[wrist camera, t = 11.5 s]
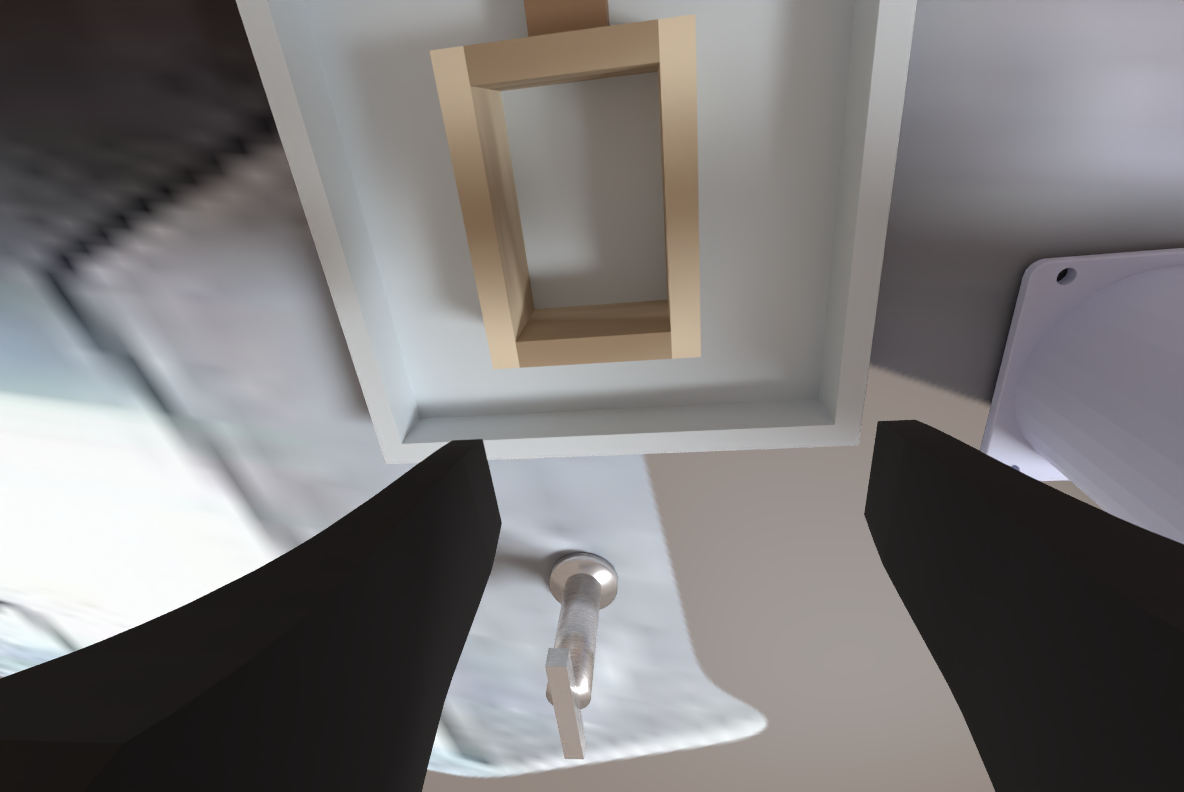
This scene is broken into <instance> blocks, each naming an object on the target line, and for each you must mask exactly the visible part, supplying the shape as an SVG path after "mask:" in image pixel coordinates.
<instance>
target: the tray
mask: <svg viewBox="0 0 1184 792" xmlns="http://www.w3.org/2000/svg"><path fill="white" fill-rule="evenodd" d="M236 3H237V6H238V9H239V12H240V15H241V18H242V22H243V25H244V28H245V31H246V34H247V37H248V40H249V43H250V46H251V49H252V52H253V55H254V59H255V62H256V65H257V68H258V71H259V74H260V77H261V80H262V83H263V86H264V89H265V92H266V96H267V99H268V102H269V105H270V108H271V111H272V114H273V117H274V120H275V123H276V126H277V129H278V133H279V136H280V139H281V142H282V145H283V148H284V151H285V154H286V157H287V160H288V163H289V166H290V169H291V173H292V176H293V179H294V182H295V185H296V188H297V191H298V194H299V197H300V200H301V203H302V206H303V210H304V213H305V216H306V219H307V222H308V225H309V228H310V231H311V234H312V237H313V240H314V243H315V247H316V250H317V253H318V256H319V259H320V262H321V265H322V268H323V271H324V274H325V277H326V280H327V284H328V287H329V290H330V293H331V296H332V299H333V302H334V305H335V308H336V311H337V314H338V317H339V321H340V324H341V327H342V330H343V333H344V336H345V339H346V342H347V345H348V348H349V351H350V354H351V358H352V361H353V364H354V367H355V370H356V373H357V376H358V379H359V382H360V385H361V388H362V391H363V395H364V398H365V401H366V404H367V407H368V410H369V413H370V416H371V419H372V422H373V425H374V428H375V431H376V435H377V438H378V441H379V444H380V447H381V450H382V453H383V456H384V459H385V462H386V464H399V463H420V462H421V461H423V460H424V459H425V458H427V457H428V456H429V455H431V454H432V453H434V452H435V451H437V450H438V449H439V448H441V447H442V446H444V445H446V444H447V443H449V442H451V441H452V440H471V439H483V443H484V447H485V452H486V456H487V460H501V459H526V458H552V457H577V456H603V455H628V454H652V453H676V452H677V453H679V452H703V451H730V450H752V449H753V450H755V449H781V448H805V447H831V446H854V445H855V446H857V445H859V439H860V432H861V424H862V416H863V409H864V401H865V394H866V386H867V378H868V371H869V363H870V355H871V348H872V340H873V333H874V325H875V317H876V310H877V302H878V295H879V287H880V279H881V272H882V264H883V256H884V249H885V241H886V234H887V226H888V218H889V211H890V203H891V196H892V188H893V180H894V173H895V165H896V157H897V150H898V142H899V135H900V127H901V119H902V112H903V104H904V97H905V89H906V81H907V74H908V66H909V58H910V51H911V43H912V36H913V28H914V20H915V13H916V5H917V0H608V7H609V21H610V26H612V25H619V24H627V23H634V22H641V21H648V20H656V19H663V18H670V17H678V16H685V15H692V14H696V74H697V137H698V201H699V265H700V328H701V357H692V358H676V359H659V360H642V361H625V362H608V363H592V364H575V365H558V366H541V367H524V368H507V369H493V365H492V360H491V355H490V350H489V345H488V340H487V335H486V330H485V325H484V320H483V315H482V310H481V305H480V300H479V295H478V290H477V285H476V280H475V275H474V270H473V265H472V260H471V255H470V250H469V245H468V240H467V235H466V230H465V225H464V220H463V215H462V210H461V205H460V200H459V195H458V190H457V185H456V180H455V175H454V170H453V165H452V160H451V155H450V150H449V145H448V140H447V135H446V130H445V125H444V121H443V116H442V111H441V106H440V101H439V96H438V91H437V86H436V81H435V76H434V71H433V66H432V61H431V56H430V50H437V49H444V48H452V47H459V46H466V45H473V44H481V43H488V42H495V41H503V40H510V39H517V38H524V37H528V30H527V22H526V15H525V7H524V0H236ZM501 97H502V103H503V110H504V116H505V122H506V129H507V135H508V142H509V148H510V155H511V161H512V167H513V174H514V180H515V187H516V193H517V200H518V206H519V213H520V219H521V225H522V232H523V238H524V245H525V251H526V258H527V264H528V270H529V277H530V283H531V290H532V296H533V303H534V309H545V308H559V307H572V306H586V305H600V304H614V303H627V302H641V301H655V300H667V278H666V255H665V231H664V208H663V185H662V161H661V138H660V115H659V92H658V72H651V73H643V74H635V75H627V76H619V77H611V78H603V79H595V80H587V81H579V82H571V83H563V84H555V85H547V86H539V87H531V88H523V89H515V90H507V91H501Z"/></svg>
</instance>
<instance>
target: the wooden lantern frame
mask: <svg viewBox="0 0 1184 792" xmlns="http://www.w3.org/2000/svg"><path fill="white" fill-rule="evenodd" d="M524 7H525V15H526V22H527V30H528V37H524V38H517V39H510V40H503V41H495V42H488V43H481V44H473V45H466V46H459V47H452V48H444V49H437V50H430V56H431V61H432V66H433V71H434V76H435V81H436V86H437V91H438V96H439V101H440V106H441V111H442V116H443V121H444V125H445V130H446V135H447V140H448V145H449V150H450V155H451V160H452V165H453V170H454V175H455V180H456V185H457V190H458V195H459V200H460V205H461V210H462V215H463V220H464V225H465V230H466V235H467V240H468V245H469V250H470V255H471V260H472V265H473V270H474V275H475V280H476V285H477V290H478V295H479V300H480V305H481V310H482V315H483V320H484V325H485V330H486V335H487V340H488V345H489V350H490V355H491V360H492V365H493V369H507V368H524V367H541V366H558V365H575V364H592V363H608V362H625V361H642V360H659V359H676V358H692V357H701V328H700V265H699V201H698V137H697V74H696V14H692V15H685V16H678V17H670V18H663V19H656V20H648V21H641V22H634V23H627V24H619V25H612V26H610V21H609V7H608V0H524ZM651 72H658V92H659V115H660V138H661V161H662V185H663V208H664V231H665V255H666V278H667V300H655V301H641V302H627V303H614V304H600V305H586V306H572V307H559V308H545V309H534V303H533V296H532V290H531V283H530V277H529V270H528V264H527V258H526V251H525V245H524V238H523V232H522V225H521V219H520V213H519V206H518V200H517V193H516V187H515V180H514V174H513V167H512V161H511V155H510V148H509V142H508V135H507V129H506V122H505V116H504V110H503V103H502V97H501V91H507V90H515V89H523V88H531V87H539V86H547V85H555V84H563V83H571V82H579V81H587V80H595V79H603V78H611V77H619V76H627V75H635V74H643V73H651Z"/></svg>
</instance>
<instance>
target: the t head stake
mask: <svg viewBox="0 0 1184 792" xmlns="http://www.w3.org/2000/svg"><path fill="white" fill-rule="evenodd" d="M549 587H550V591H551V593H552V595H553V596H554V598H555V599H556V600H557V601H558V602H559V603H561V604H562V605H561V610H560V616H559V622H558V627H557V633H556V639H555V644H554V648H549V650H548V655H547V660H546V666H545V667H546V672H547V677H548V684H547V690H546V697H547V699H548V701H549V702H550V703H551V704H552V705H554V710H555V715H556V719H557V724H558V729H559V734H560V738H561V743H562V748H563V752H564V757H565V759H584V752H585V742H586V739H585V733H584V728H583V722H582V716H581V711H580V709H583V708H585V707H586V706H587V705H588V704H589V703H590V700H591V690H592V680H593V669H594V659H595V649H596V639H597V628H598V618H599V610H600V609H603V608H605V607H606V606H608V605H609V604H610V603H611V602H612V601H613V600H614V599H615V597H616V594H617V588H618V577H617V573H616V571H615V569H614V568H613V566H612V565H611V564H610V563H609V562H607V561H606V560H605V559H603V558H601V557H599V556H596V555H593V554H589V553H574V554H570V555H567V556H564V557H563V558H561V559H560V560H558V561H557V562H556V563H555V565H554V566H553V568H552V571H551V576H550V581H549Z"/></svg>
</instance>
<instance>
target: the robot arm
mask: <svg viewBox="0 0 1184 792" xmlns="http://www.w3.org/2000/svg"><path fill="white" fill-rule="evenodd" d="M1066 268H1067V269H1068V273H1067V274H1066V276H1065V277H1064V278H1063V279H1062V280H1060V281H1057V276H1058V274H1059V273H1060V272H1061V271H1062V270H1063V269H1066ZM1011 465H1013V466H1012V467H1010V466H1011ZM1057 480H1070V481H1071V482H1072V483H1074V484H1075V485H1076V486H1077V487H1078V488H1079V489H1081V490H1082V491H1083V492H1084V493H1085V494H1086V495H1088V496H1089V497H1090V498H1091V499H1092V500H1093V501H1094V502H1096V503H1097V504H1098V505H1099V506H1100V507H1101V508H1103V509H1104V510H1105V511H1106V512H1105V511H1102V510H1100V509H1098V508H1096V507H1093V506H1091V505H1089V504H1087V503H1085V502H1082V501H1080V500H1078V499H1076V498H1074V497H1071V496H1069V495H1067V494H1065V493H1063V492H1061V491H1059V490H1057V489H1055V488H1053V487H1051V486H1048V485H1046V484H1044V483H1042V482H1040V481H1057ZM864 515H865V518H866V520H867V523H868V526H869V529H870V532H871V535H872V537H873V540H874V543H875V545H876V548H877V550H878V553H879V555H880V558H881V561H882V563H883V565H884V567H885V569H886V571H887V573H888V575H889V577H890V579H891V581H892V583H893V584H894V586H895V588H896V590H897V592H898V594H899V596H900V597H901V599H902V601H903V603H904V605H905V607H906V609H907V610H908V612H909V614H910V616H911V618H912V620H913V621H914V623H915V625H916V627H917V628H918V630H919V632H920V634H921V636H922V638H923V640H924V641H925V643H926V645H927V647H928V649H929V650H930V652H931V654H932V656H933V658H934V660H935V662H936V663H937V665H938V667H939V669H940V670H941V672H942V674H943V676H944V678H945V680H946V682H947V683H948V685H949V687H950V689H951V691H952V694H953V695H954V698H955V700H956V702H957V704H958V705H959V708H960V710H961V712H962V714H963V716H964V718H965V721H966V723H967V725H968V728H969V730H970V732H971V735H972V737H973V740H974V742H975V744H976V746H977V749H978V751H979V754H980V756H981V758H982V761H983V763H984V765H985V768H986V770H987V772H988V775H989V777H990V779H991V782H992V784H993V787H994V789H995V792H1184V248H1175V249H1162V250H1149V251H1136V252H1123V253H1110V254H1097V255H1084V256H1071V257H1058V258H1045V259H1041V260H1038V261H1036V262H1034V263H1033V264H1031V265H1030V266H1029V267H1028V268H1027V269H1026V271H1025V273H1024V275H1023V278H1022V282H1021V286H1020V290H1019V294H1018V298H1017V302H1016V306H1015V311H1014V315H1013V319H1012V323H1011V327H1010V331H1009V335H1008V339H1007V343H1006V347H1005V351H1004V355H1003V359H1002V363H1001V367H1000V371H999V375H998V379H997V383H996V387H995V391H994V395H993V399H992V403H991V407H990V412H989V415H988V419H987V424H986V428H985V432H984V436H983V440H982V444H981V448H980V451H979V450H977V449H975V448H973V447H971V446H969V445H967V444H965V443H963V442H961V441H960V440H957V439H956V438H954V437H952V436H950V435H947V434H945V433H944V432H942V431H940V430H937V429H935V428H933V427H931V426H929V425H927V424H924V423H922V422H919V421H917V420H899V421H878V424H877V431H876V438H875V445H874V452H873V458H872V465H871V472H870V479H869V486H868V493H867V500H866V506H865V513H864ZM501 524H502V523H501V518H500V514H499V509H498V505H497V500H496V496H495V491H494V487H493V483H492V478H491V474H490V469H489V465H488V460H487V456H486V452H485V447H484V443H483V439H471V440H452V441H451V442H449V443H447V444H446V445H444V446H442V447H441V448H439V449H438V450H437V451H435V452H434V453H432V454H431V455H429V456H428V457H427V458H425V459H424V460H423V461H421V462H420V463H419V464H417V465H416V466H414V467H413V468H412V469H410V470H409V471H408V472H406V473H405V474H404V475H402V476H401V477H400V478H398V479H397V480H395V481H394V482H393V483H391V484H390V485H389V486H387V487H386V488H385V489H383V490H382V491H381V492H379V493H378V494H376V495H375V496H374V497H372V498H371V499H369V500H368V501H366V502H365V503H363V504H362V505H360V506H359V507H358V508H356V509H355V510H353V511H352V512H350V513H349V514H347V515H346V516H344V517H343V518H341V519H340V520H338V521H337V522H335V523H334V524H332V525H331V526H329V527H328V528H327V529H325V530H323V531H322V532H320V533H319V534H317V535H316V536H314V537H312V538H311V539H309V540H307V541H306V542H304V543H302V544H301V545H299V546H297V547H296V548H294V549H292V550H291V551H289V552H287V553H285V554H283V555H282V556H280V557H278V558H276V559H275V560H273V561H271V562H269V563H268V564H266V565H264V566H262V567H260V568H259V569H257V570H255V571H253V572H251V573H249V574H247V575H245V576H243V577H241V578H239V579H237V580H235V581H233V582H231V583H229V584H227V585H225V586H223V587H221V588H219V589H217V590H215V591H213V592H211V593H209V594H207V595H205V596H203V597H201V598H199V599H197V600H195V601H193V602H191V603H189V604H186V605H184V606H182V607H180V608H178V609H176V610H173V611H171V612H169V613H166V614H164V615H162V616H160V617H157V618H155V619H153V620H151V621H148V622H146V623H144V624H142V625H139V626H137V627H134V628H132V629H129V630H127V631H125V632H122V633H120V634H117V635H115V636H113V637H110V638H108V639H105V640H103V641H100V642H98V643H95V644H93V645H90V646H88V647H85V648H83V649H80V650H78V651H75V652H72V653H70V654H67V655H64V656H62V657H59V658H56V659H53V660H51V661H48V662H45V663H42V664H39V665H37V666H34V667H31V668H28V669H26V670H23V671H20V672H17V673H15V674H12V675H9V676H6V677H4V678H1V679H0V792H422V789H423V784H424V780H425V776H426V772H427V767H428V763H429V759H430V755H431V751H432V748H433V744H434V740H435V736H436V732H437V728H438V724H439V721H440V717H441V713H442V709H443V705H444V702H445V699H446V696H447V692H448V689H449V686H450V683H451V680H452V677H453V674H454V672H455V669H456V666H457V663H458V661H459V658H460V655H461V653H462V650H463V647H464V644H465V642H466V639H467V636H468V634H469V631H470V628H471V625H472V623H473V620H474V617H475V615H476V612H477V609H478V606H479V604H480V601H481V598H482V595H483V593H484V590H485V587H486V584H487V581H488V579H489V576H490V573H491V570H492V566H493V562H494V557H495V553H496V549H497V544H498V539H499V534H500V529H501Z"/></svg>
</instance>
